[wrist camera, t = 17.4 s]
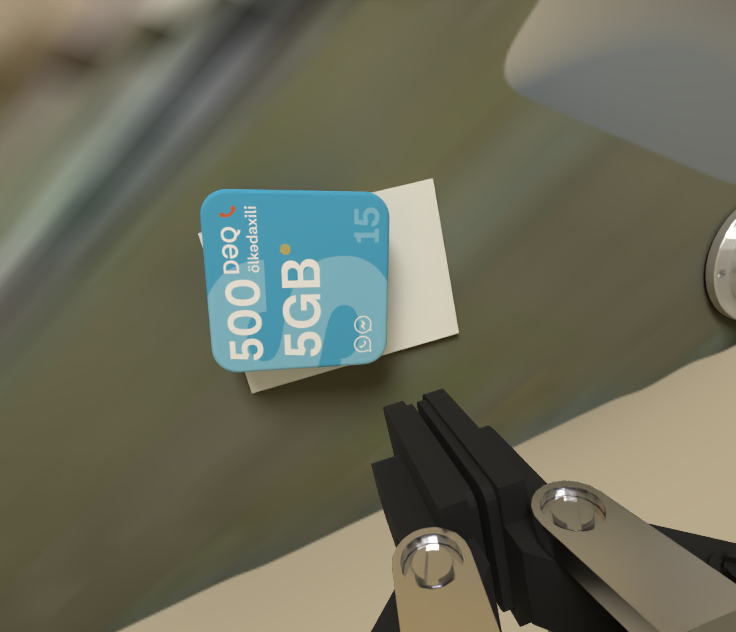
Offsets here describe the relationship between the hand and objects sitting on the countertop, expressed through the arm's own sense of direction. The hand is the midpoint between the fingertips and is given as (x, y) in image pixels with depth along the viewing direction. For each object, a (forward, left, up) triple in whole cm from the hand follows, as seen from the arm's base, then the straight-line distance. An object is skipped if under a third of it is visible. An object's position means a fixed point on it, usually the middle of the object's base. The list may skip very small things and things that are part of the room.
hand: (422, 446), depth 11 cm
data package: (-4, 0, -20) cm, 21 cm away
